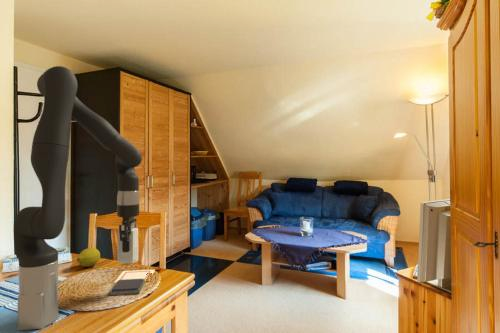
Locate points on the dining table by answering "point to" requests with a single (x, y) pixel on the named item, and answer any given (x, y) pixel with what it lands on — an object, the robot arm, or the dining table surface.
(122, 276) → the paper sheet
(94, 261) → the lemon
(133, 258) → the skincare box
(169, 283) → the dining table surface
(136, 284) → the pad
